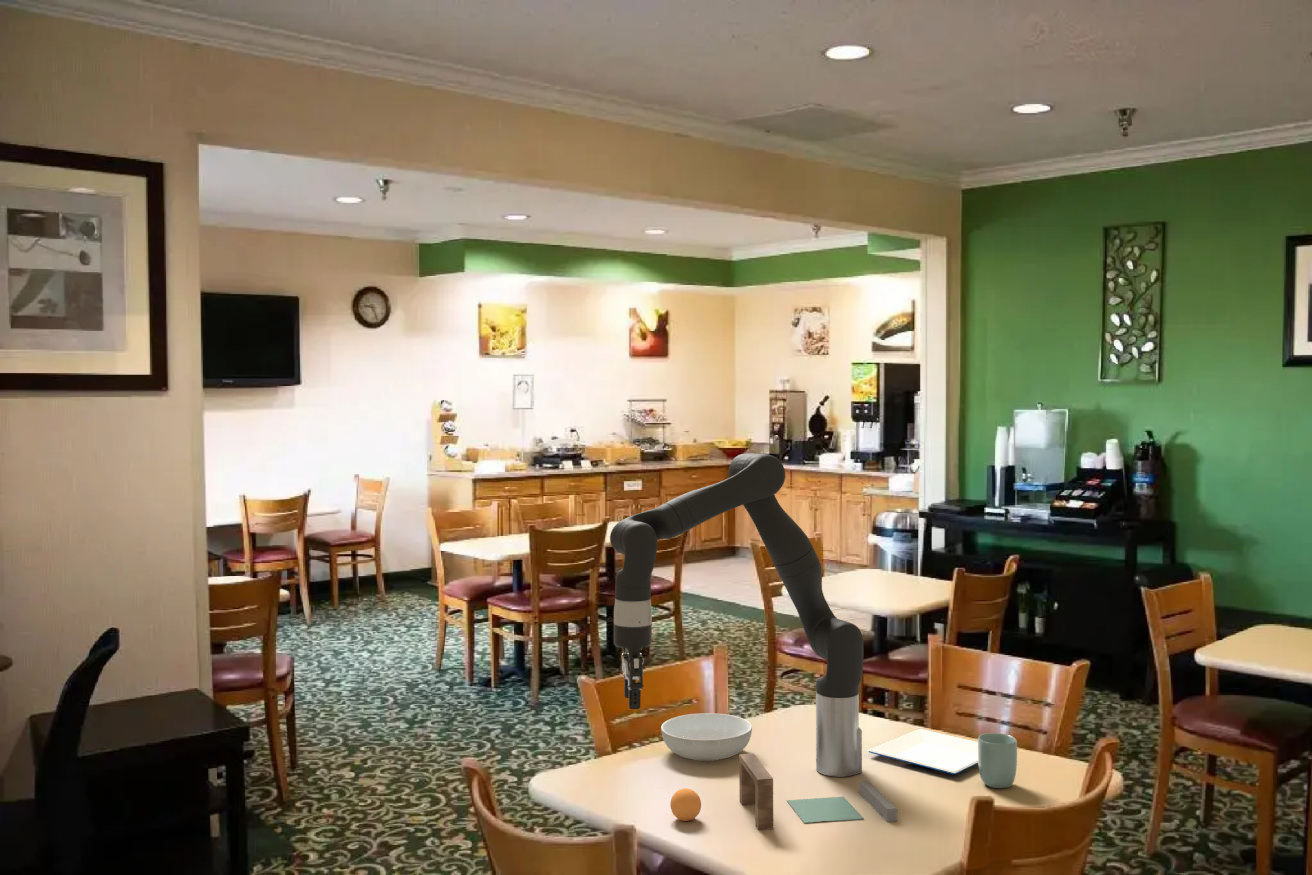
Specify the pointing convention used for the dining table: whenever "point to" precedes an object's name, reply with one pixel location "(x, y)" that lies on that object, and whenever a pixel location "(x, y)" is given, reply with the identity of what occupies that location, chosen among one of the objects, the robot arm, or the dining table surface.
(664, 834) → the dining table surface
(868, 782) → the stopper
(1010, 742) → the cup
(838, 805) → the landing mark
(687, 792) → the ball
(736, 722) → the serving bowl
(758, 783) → the bridge
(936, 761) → the plate
